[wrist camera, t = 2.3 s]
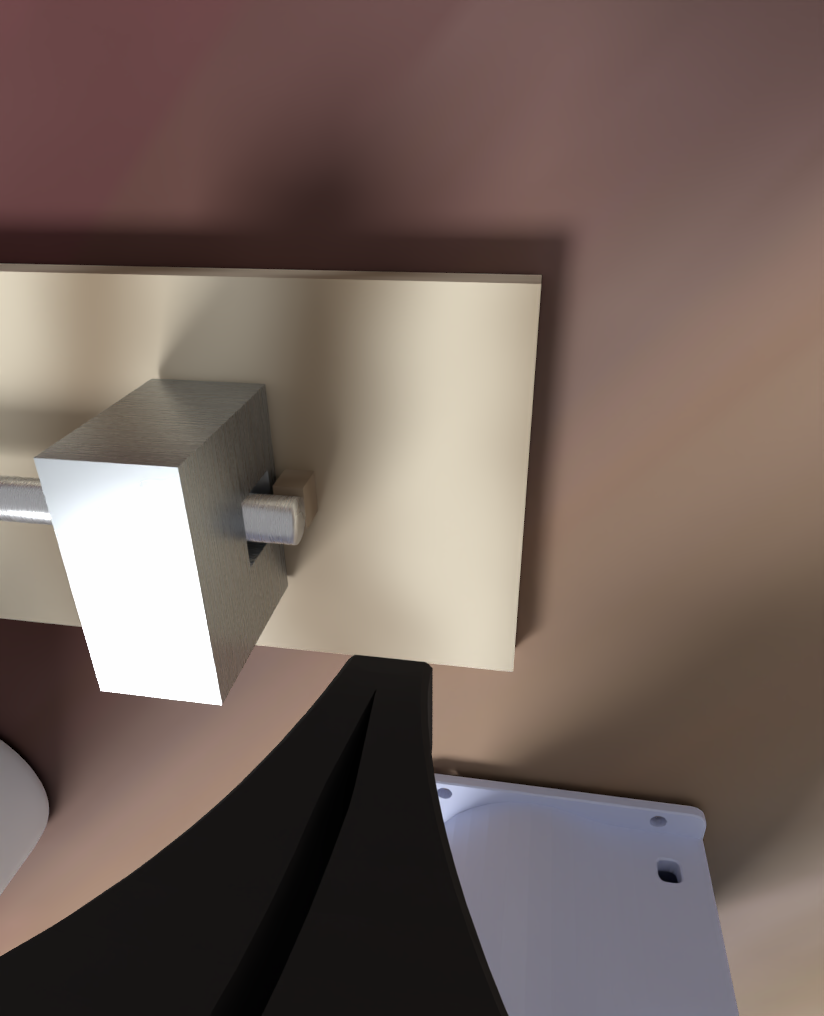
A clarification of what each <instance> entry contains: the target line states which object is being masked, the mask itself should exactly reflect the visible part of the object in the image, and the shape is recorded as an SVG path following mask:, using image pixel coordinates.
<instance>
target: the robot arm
mask: <svg viewBox="0 0 824 1016" xmlns="http://www.w3.org/2000/svg"><path fill="white" fill-rule="evenodd" d="M431 753H432V667H431V666H430V665H429V664H428V663H427V662H421V661H412V660H402V659H393V658H383V657H374V656H364V655H354V656H352V657H351V658H350V659H349V660H348V661H347V662H346V664H345V665H344V666H343V668H342V669H341V670H340V672H339V673H338V674H337V676H336V677H335V678H334V679H333V681H332V682H331V683H330V685H329V686H328V687H327V688H326V690H325V691H324V692H323V693H322V695H321V696H320V697H319V698H318V699H317V701H316V702H315V703H314V704H313V705H312V707H311V708H310V709H309V710H308V711H307V713H306V714H305V715H304V716H303V717H302V718H301V719H300V720H299V722H298V723H297V724H296V725H295V726H294V727H293V728H292V730H291V731H290V732H289V733H288V734H287V735H286V736H285V737H284V739H283V740H282V741H281V742H280V743H279V744H278V745H277V746H276V747H275V748H274V749H273V750H272V751H271V752H270V753H269V754H268V755H267V756H266V758H265V759H264V760H263V761H262V762H261V763H260V764H259V765H258V766H257V767H256V768H255V769H254V770H253V771H252V772H251V773H250V774H249V775H248V776H247V777H246V778H245V779H244V780H243V781H242V782H241V783H240V784H239V785H238V786H237V787H236V788H234V789H233V790H232V791H231V792H230V793H229V794H228V795H227V796H226V797H225V798H224V799H223V800H222V801H220V802H219V803H218V804H217V805H216V806H215V807H214V808H213V809H211V810H210V811H209V812H208V813H207V814H206V815H204V816H203V817H202V818H201V819H200V820H199V821H198V822H196V823H195V824H194V825H193V826H192V827H190V828H189V829H188V830H187V831H186V832H184V833H183V834H182V835H181V836H179V837H178V838H177V839H175V840H174V841H173V842H172V843H170V844H169V845H168V846H167V847H165V848H164V849H163V850H162V851H160V852H159V853H158V854H157V855H155V856H154V857H153V858H151V859H150V860H149V861H147V862H146V863H145V864H143V865H142V866H141V867H139V868H138V869H137V870H135V871H134V872H133V873H131V874H130V875H128V876H127V877H126V878H124V879H123V880H121V881H120V882H118V883H117V884H115V885H114V886H112V887H111V888H109V889H108V890H106V891H105V892H103V893H102V894H100V895H99V896H97V897H96V898H94V899H93V900H92V901H90V902H89V903H87V904H86V905H84V906H83V907H81V908H80V909H78V910H77V911H75V912H74V913H72V914H71V915H69V916H68V917H66V918H65V919H63V920H61V921H60V922H58V923H57V924H55V925H53V926H52V927H50V928H49V929H47V930H45V931H43V932H42V933H40V934H38V935H36V936H35V937H33V938H31V939H30V940H28V941H26V942H24V943H23V944H21V945H19V946H18V947H16V948H14V949H12V950H11V951H9V952H7V953H5V954H4V955H2V956H0V1016H739V1013H738V1008H737V1003H736V998H735V993H734V989H733V984H732V979H731V974H730V969H729V964H728V959H727V955H726V950H725V945H724V940H723V935H722V930H721V925H720V921H719V916H718V911H717V906H716V901H715V896H714V892H713V887H712V882H711V877H710V872H709V867H708V862H707V858H706V853H705V848H704V843H703V837H704V833H705V830H706V819H705V815H704V813H703V812H702V811H701V810H700V809H698V808H696V807H692V806H686V805H678V804H670V803H662V802H654V801H647V800H639V799H631V798H623V797H615V796H608V795H600V794H592V793H584V792H576V791H569V790H561V789H553V788H545V787H537V786H530V785H522V784H514V783H506V782H499V781H491V780H483V779H475V778H467V777H460V776H452V775H444V774H436V773H434V769H433V761H432V754H431ZM443 788H446V789H443ZM655 816H660V817H655Z"/></svg>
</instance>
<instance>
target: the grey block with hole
mask: <svg viewBox="0 0 824 1016" xmlns="http://www.w3.org/2000/svg"><path fill="white" fill-rule="evenodd" d="M34 462H35V465H36V469H37V472H38V476H39V479H40V482H41V486H42V489H43V493H44V496H45V500H46V503H47V507H48V510H49V513H50V517H51V520H52V524H53V527H54V531H55V534H56V538H57V541H58V545H59V548H60V551H61V555H62V558H63V562H64V565H65V569H66V572H67V576H68V579H69V582H70V586H71V589H72V593H73V596H74V600H75V603H76V607H77V610H78V614H79V617H80V620H81V624H82V627H83V631H84V634H85V638H86V641H87V645H88V648H89V651H90V655H91V658H92V662H93V665H94V669H95V672H96V676H97V679H98V683H99V686H100V689H101V691H108V692H116V693H124V694H133V695H141V696H150V697H158V698H166V699H175V700H183V701H192V702H200V703H208V704H217V705H222V704H223V702H224V700H225V699H226V697H227V695H228V693H229V691H230V690H231V688H232V686H233V684H234V682H235V681H236V679H237V677H238V675H239V673H240V672H241V670H242V668H243V666H244V664H245V663H246V661H247V659H248V657H249V655H250V654H251V652H252V650H253V648H254V646H255V645H256V643H257V641H258V639H259V637H260V636H261V634H262V632H263V630H264V628H265V627H266V625H267V623H268V621H269V619H270V618H271V616H272V614H273V612H274V610H275V609H276V607H277V605H278V603H279V601H280V600H281V598H282V596H283V594H284V592H285V591H286V589H287V587H288V578H287V569H286V561H285V552H284V544H275V543H263V542H250V541H247V540H246V533H245V526H244V519H243V512H242V505H241V503H242V502H243V500H244V499H245V498H246V497H247V495H248V494H249V493H255V494H269V495H273V487H272V486H273V485H274V483H275V482H276V473H275V464H274V455H273V446H272V438H271V429H270V420H269V411H268V403H267V394H266V385H265V384H257V383H235V382H214V381H193V380H171V379H150V380H149V381H147V382H146V383H144V384H143V385H141V386H140V387H138V388H137V389H135V390H134V391H132V392H131V393H129V394H128V395H126V396H125V397H123V398H122V399H120V400H119V401H117V402H116V403H114V404H113V405H111V406H110V407H109V408H107V409H106V410H104V411H103V412H101V413H100V414H98V415H97V416H95V417H94V418H92V419H91V420H89V421H88V422H86V423H85V424H83V425H82V426H80V427H79V428H77V429H76V430H74V431H73V432H71V433H70V434H68V435H67V436H65V437H64V438H62V439H61V440H59V441H58V442H56V443H55V444H53V445H52V446H50V447H49V448H47V449H46V450H44V451H43V452H41V453H40V454H38V455H37V456H35V457H34Z"/></svg>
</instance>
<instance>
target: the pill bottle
mask: <svg viewBox="0 0 824 1016" xmlns="http://www.w3.org/2000/svg"><path fill="white" fill-rule="evenodd" d="M48 816H49V803H48V798H47V795H46V792H45V789H44V787H43V785H42V783H41V781H40V780H39V778H38V777H37V775H36V774H35V772H34V771H33V770H32V768H31V767H30V766H29V765H28V764H27V763H26V761H25V760H24V759H23V758H22V757H21V756H20V755H19V754H18V753H16V752H15V751H14V750H13V749H12V748H11V747H9V746H8V745H7V744H6V743H4V742H3V741H2V740H0V895H1V893H2V892H3V891H4V889H5V888H6V886H7V885H8V884H9V882H10V881H11V879H12V878H13V877H14V875H15V874H16V872H17V871H18V870H19V868H20V867H21V866H22V864H23V863H24V861H25V860H26V859H27V857H28V856H29V854H30V853H31V852H32V850H33V849H34V847H35V846H36V844H37V842H38V840H39V839H40V837H41V835H42V834H43V832H44V830H45V827H46V825H47V821H48Z"/></svg>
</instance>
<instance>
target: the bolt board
mask: <svg viewBox="0 0 824 1016" xmlns="http://www.w3.org/2000/svg"><path fill="white" fill-rule="evenodd" d="M541 280H542V275H522V274H475V273H428V272H381V271H334V270H287V269H240V268H193V267H146V266H99V265H52V264H5V263H0V618H3V619H12V620H22V621H31V622H41V623H50V624H60V625H70V626H79V627H82V624H81V620H80V617H79V614H78V610H77V607H76V603H75V600H74V596H73V593H72V589H71V586H70V582H69V579H68V576H67V572H66V569H65V565H64V562H63V558H62V555H61V551H60V548H59V545H58V541H57V538H56V534H55V531H54V527H53V524H52V520H51V517H50V513H49V510H48V507H47V503H46V500H45V496H44V493H43V489H42V486H41V482H40V479H39V476H38V472H37V469H36V465H35V462H34V457H35V456H37V455H38V454H40V453H41V452H43V451H44V450H46V449H47V448H49V447H50V446H52V445H53V444H55V443H56V442H58V441H59V440H61V439H62V438H64V437H65V436H67V435H68V434H70V433H71V432H73V431H74V430H76V429H77V428H79V427H80V426H82V425H83V424H85V423H86V422H88V421H89V420H91V419H92V418H94V417H95V416H97V415H98V414H100V413H101V412H103V411H104V410H106V409H107V408H109V407H110V406H111V405H113V404H114V403H116V402H117V401H119V400H120V399H122V398H123V397H125V396H126V395H128V394H129V393H131V392H132V391H134V390H135V389H137V388H138V387H140V386H141V385H143V384H144V383H146V382H147V381H149V380H150V379H171V380H193V381H214V382H235V383H257V384H265V385H266V394H267V403H268V411H269V420H270V429H271V438H272V446H273V455H274V464H275V473H276V482H275V483H274V485H273V486H272V487H273V495H269V494H255V493H249V494H248V495H247V497H246V498H245V499H244V500H243V502H242V503H241V505H242V512H243V519H244V526H245V533H246V540H247V541H250V542H263V543H275V544H284V552H285V561H286V569H287V578H288V587H287V589H286V591H285V592H284V594H283V596H282V598H281V600H280V601H279V603H278V605H277V607H276V609H275V610H274V612H273V614H272V616H271V618H270V619H269V621H268V623H267V625H266V627H265V628H264V630H263V632H262V634H261V636H260V637H259V639H258V641H257V643H256V645H260V646H270V647H279V648H289V649H298V650H308V651H317V652H327V653H336V654H346V655H364V656H374V657H383V658H393V659H402V660H412V661H421V662H427V663H432V664H441V665H451V666H460V667H470V668H479V669H489V670H499V671H508V672H513V665H514V652H515V638H516V624H517V610H518V597H519V583H520V569H521V555H522V542H523V528H524V514H525V500H526V487H527V473H528V459H529V445H530V432H531V418H532V404H533V390H534V377H535V363H536V349H537V335H538V322H539V308H540V294H541Z"/></svg>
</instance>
